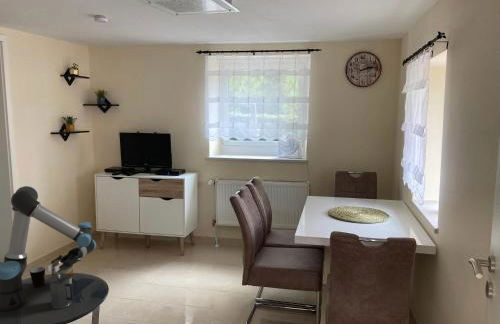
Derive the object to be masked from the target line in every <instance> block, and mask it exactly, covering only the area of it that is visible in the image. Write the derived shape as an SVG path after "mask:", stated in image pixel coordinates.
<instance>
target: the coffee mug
mask: <svg viewBox="0 0 500 324" xmlns="http://www.w3.org/2000/svg"><path fill="white" fill-rule="evenodd" d="M29 275H30V278H31V283H32V287H33V288H40V287H43V286H45V285H46V283H45V282H44V281H45V280H46V267H44V266H37V267H33V268H31V269H29Z"/></svg>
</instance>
